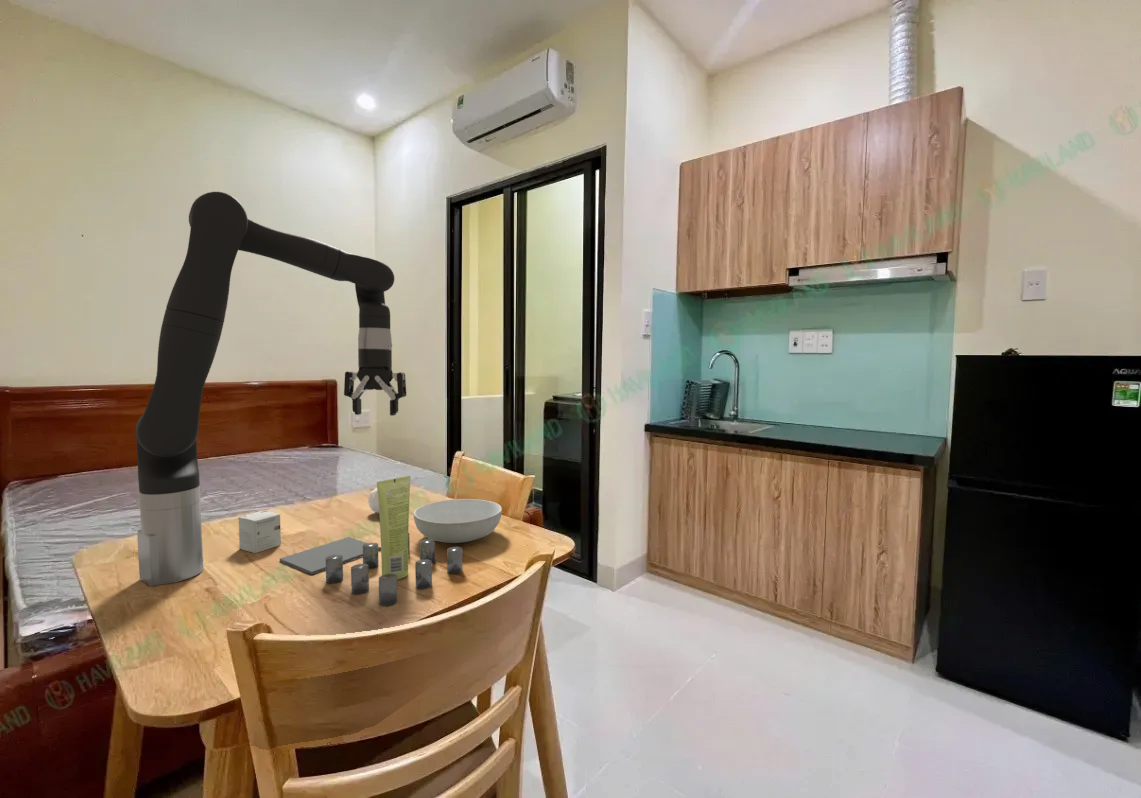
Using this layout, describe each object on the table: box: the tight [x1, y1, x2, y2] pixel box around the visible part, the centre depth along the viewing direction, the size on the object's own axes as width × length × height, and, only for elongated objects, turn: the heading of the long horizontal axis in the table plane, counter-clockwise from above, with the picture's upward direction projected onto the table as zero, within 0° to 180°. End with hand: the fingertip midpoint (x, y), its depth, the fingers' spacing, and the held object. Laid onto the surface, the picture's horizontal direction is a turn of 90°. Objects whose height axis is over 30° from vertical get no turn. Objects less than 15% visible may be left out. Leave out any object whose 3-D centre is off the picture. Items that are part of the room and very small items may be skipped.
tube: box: [376, 475, 411, 580], centre depth 100 cm, size 6×5×20 cm
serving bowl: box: [413, 498, 503, 544], centre depth 123 cm, size 21×21×7 cm
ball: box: [367, 487, 379, 514], centre depth 141 cm, size 8×8×8 cm
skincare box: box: [238, 510, 282, 554], centre depth 115 cm, size 6×6×7 cm
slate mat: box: [279, 536, 381, 575], centre depth 110 cm, size 16×12×1 cm
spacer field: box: [325, 532, 463, 607], centre depth 100 cm, size 19×19×4 cm
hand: (375, 414), depth 123 cm, fingers open, 8 cm apart
